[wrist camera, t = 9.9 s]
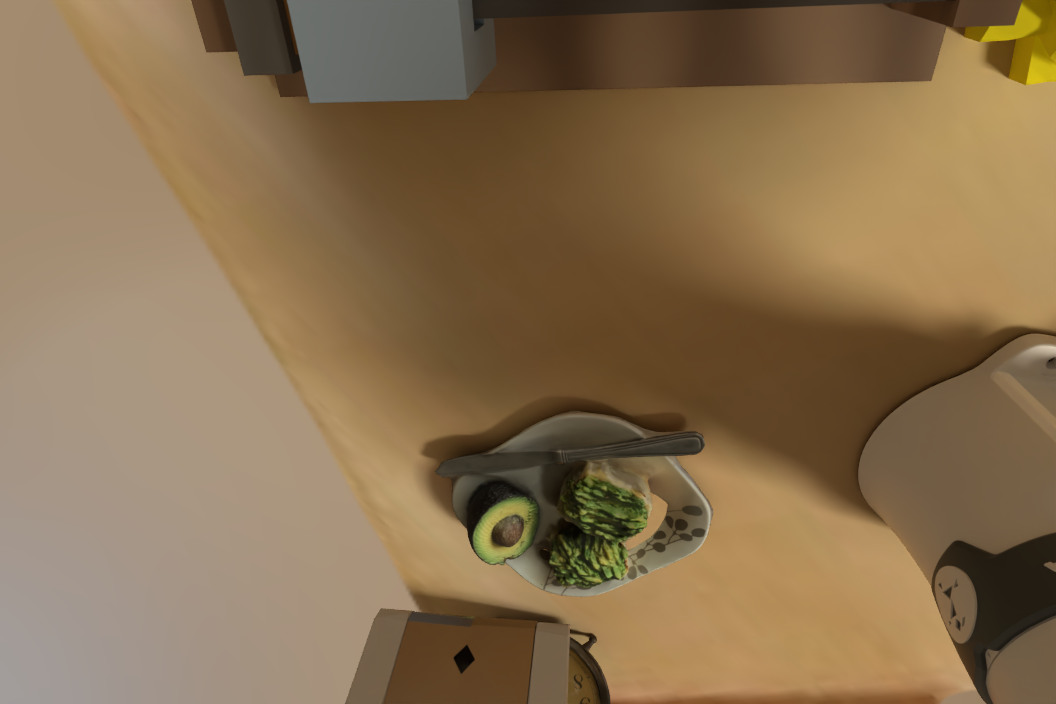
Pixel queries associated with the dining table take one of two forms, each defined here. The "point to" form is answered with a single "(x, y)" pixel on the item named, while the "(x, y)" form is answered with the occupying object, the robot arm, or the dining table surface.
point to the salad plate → (580, 501)
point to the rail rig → (655, 41)
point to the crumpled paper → (1027, 41)
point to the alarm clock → (585, 676)
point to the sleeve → (391, 49)
